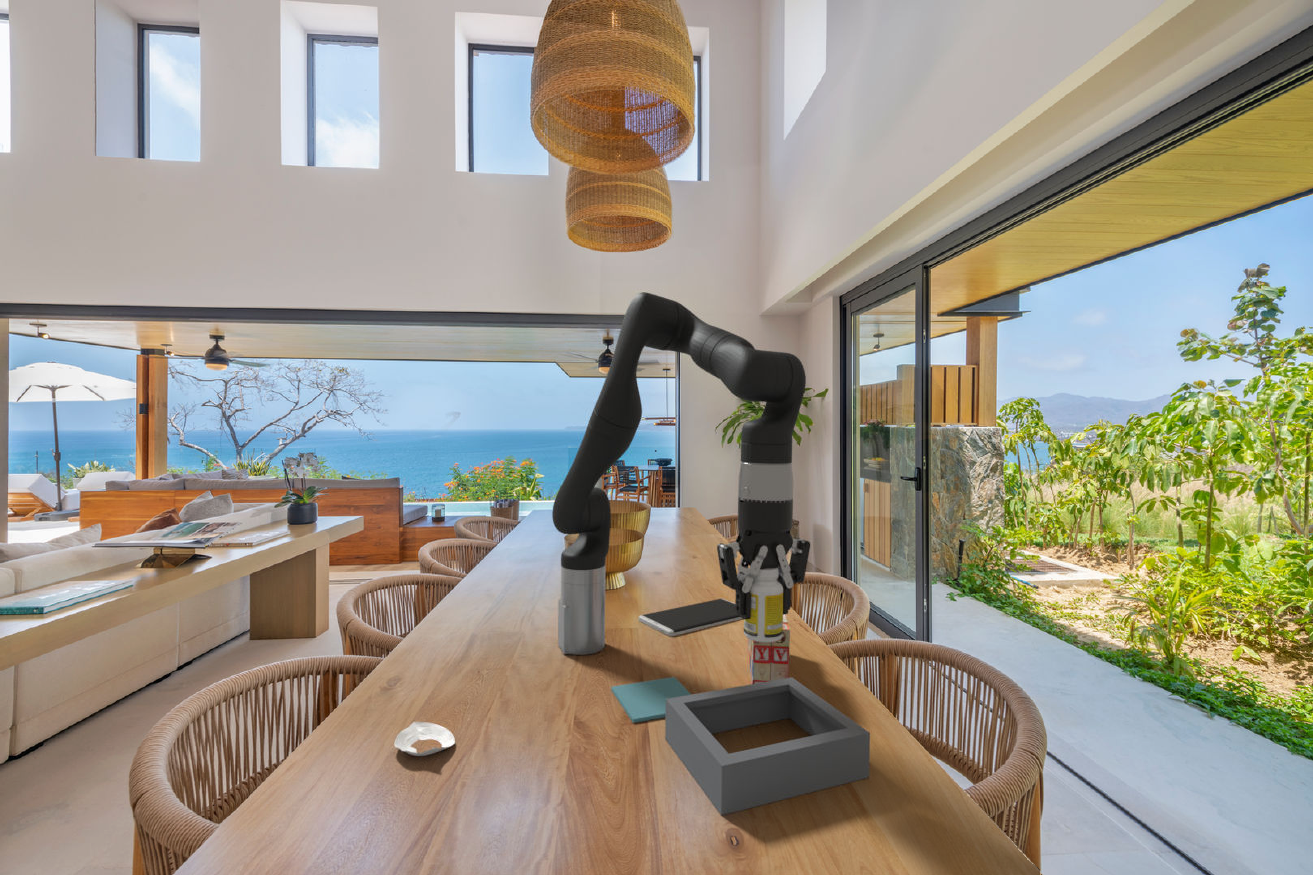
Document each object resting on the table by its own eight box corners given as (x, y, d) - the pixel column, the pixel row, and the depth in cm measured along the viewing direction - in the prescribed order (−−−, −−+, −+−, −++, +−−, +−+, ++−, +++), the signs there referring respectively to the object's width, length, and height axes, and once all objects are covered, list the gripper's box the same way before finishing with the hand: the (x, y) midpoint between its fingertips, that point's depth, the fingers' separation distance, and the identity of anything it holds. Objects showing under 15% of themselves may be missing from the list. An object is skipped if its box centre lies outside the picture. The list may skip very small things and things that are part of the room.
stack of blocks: (747, 649, 122) (748, 591, 121) (777, 651, 121) (778, 592, 121) (752, 697, 100) (753, 626, 100) (789, 699, 100) (790, 628, 99)
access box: (721, 815, 70) (721, 765, 69) (665, 738, 86) (665, 698, 86) (869, 777, 77) (869, 732, 77) (791, 713, 94) (792, 677, 94)
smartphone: (758, 617, 144) (758, 610, 144) (670, 639, 128) (670, 631, 128) (721, 603, 154) (721, 597, 154) (637, 622, 139) (637, 615, 139)
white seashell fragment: (403, 774, 77) (404, 754, 77) (385, 739, 86) (386, 722, 87) (463, 758, 81) (464, 739, 81) (439, 727, 91) (440, 711, 91)
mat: (633, 722, 91) (633, 719, 91) (611, 690, 102) (611, 686, 102) (702, 710, 95) (702, 706, 95) (674, 679, 106) (674, 676, 106)
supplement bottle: (784, 632, 83) (786, 564, 83) (779, 645, 78) (781, 573, 78) (747, 627, 85) (748, 560, 85) (739, 640, 80) (741, 569, 80)
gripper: (793, 490, 87) (791, 602, 88) (707, 493, 82) (705, 612, 83) (825, 496, 80) (822, 618, 81) (732, 500, 75) (730, 630, 75)
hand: (763, 614), depth 82 cm, fingers closed on supplement bottle, 5 cm apart
